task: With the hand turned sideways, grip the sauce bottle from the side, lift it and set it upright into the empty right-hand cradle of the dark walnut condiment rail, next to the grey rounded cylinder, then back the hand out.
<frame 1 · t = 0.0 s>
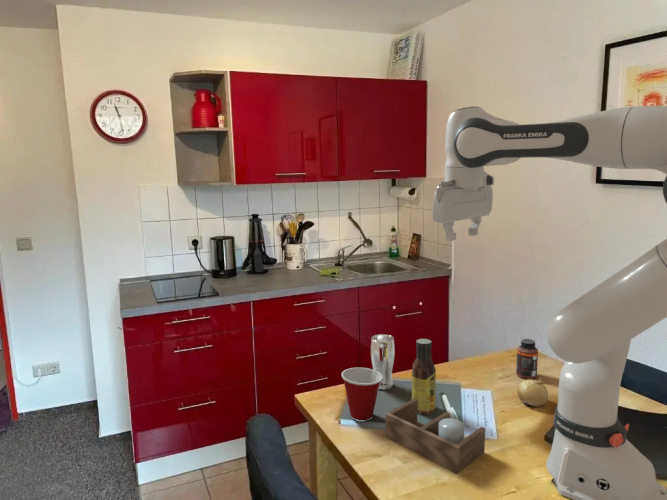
hand: (462, 237, 119), 48 cm above the table, tool pointing down, fingers open, 8 cm apart
plastic cup: (362, 416, 132), on the table
sauce bottle: (423, 412, 134), on the table
supplement bottle: (526, 376, 154), on the table
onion: (531, 403, 137), on the table
grey rounded cylinder: (450, 452, 113), resting on walnut condiment rail
walnut condiment rail: (433, 448, 117), on the table
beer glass: (382, 386, 149), on the table
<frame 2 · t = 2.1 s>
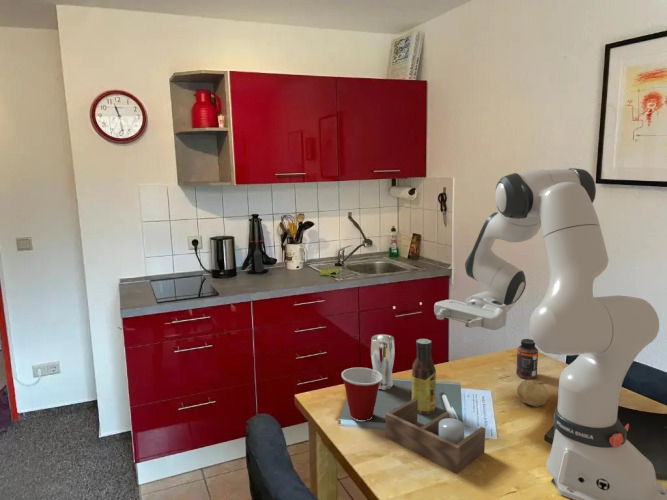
hand: (452, 320, 138), 22 cm above the table, tool horizontal, fingers open, 8 cm apart
nothing on the table moved.
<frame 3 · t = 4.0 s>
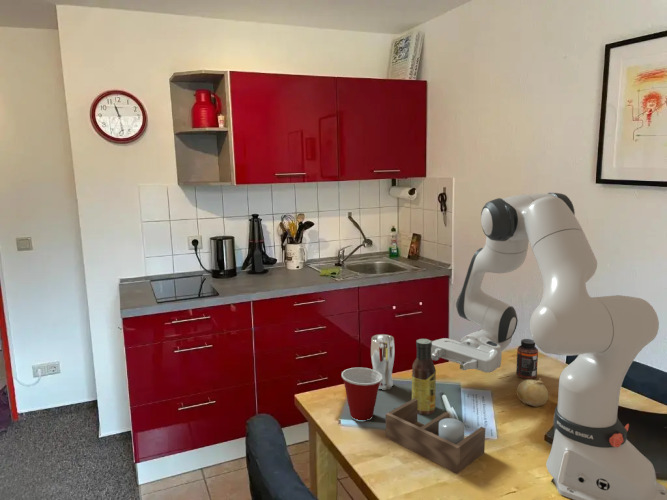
hand: (447, 362, 139), 11 cm above the table, tool horizontal, fingers open, 8 cm apart
nothing on the table moved.
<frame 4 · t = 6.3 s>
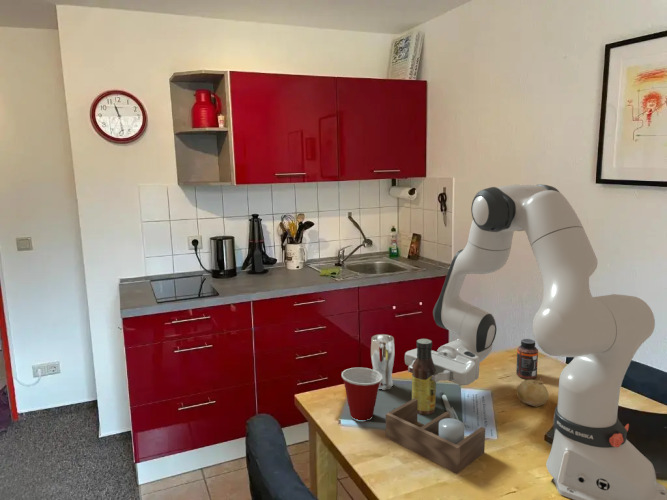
hand: (421, 374, 131), 11 cm above the table, tool horizontal, fingers closed on sauce bottle, 6 cm apart
sauce bottle: (423, 412, 134), on the table, touching gripper
everything else where it was.
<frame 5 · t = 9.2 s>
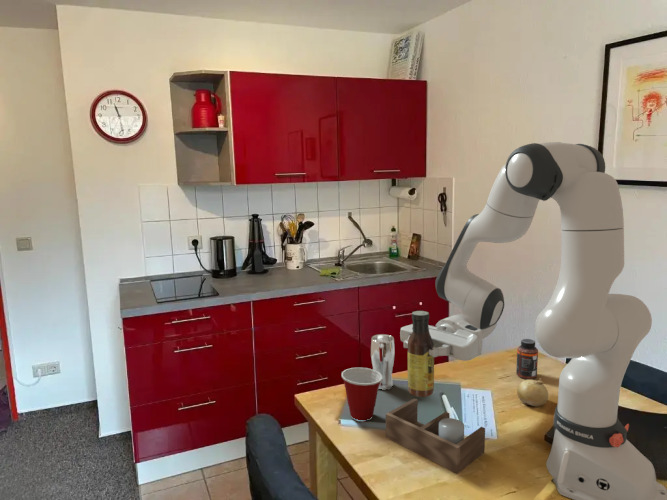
hand: (418, 349, 118), 22 cm above the table, tool horizontal, fingers closed on sauce bottle, 6 cm apart
sauce bottle: (420, 393, 121), point 11 cm above the table, touching gripper
everything else where it was.
when the fingers open (13 cm above the table, at t = 12.2 s): sauce bottle drops 1 cm, resting on walnut condiment rail.
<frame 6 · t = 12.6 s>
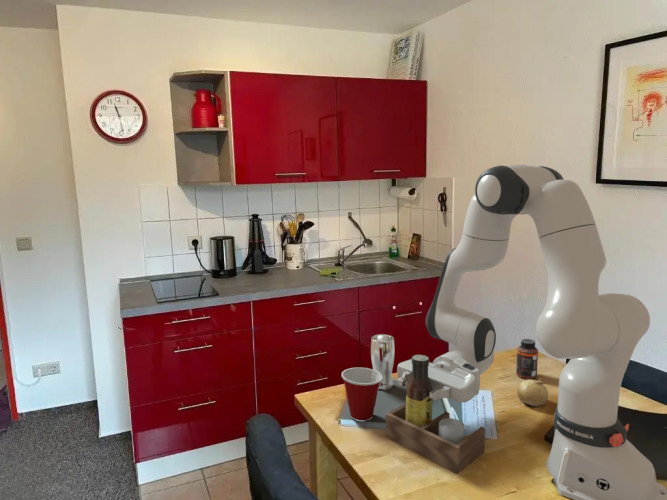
hand: (415, 389, 117), 13 cm above the table, tool horizontal, fingers open, 8 cm apart
sauce bottle: (417, 436, 120), point 1 cm above the table, touching walnut condiment rail
everything else where it was.
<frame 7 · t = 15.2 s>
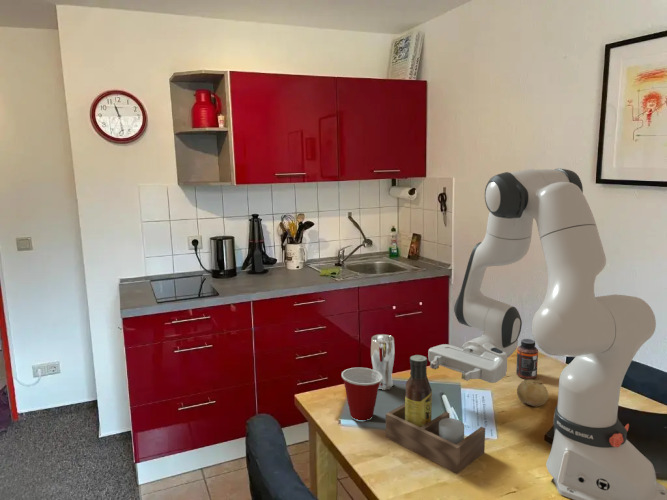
hand: (447, 371, 126), 14 cm above the table, tool horizontal, fingers open, 8 cm apart
nothing on the table moved.
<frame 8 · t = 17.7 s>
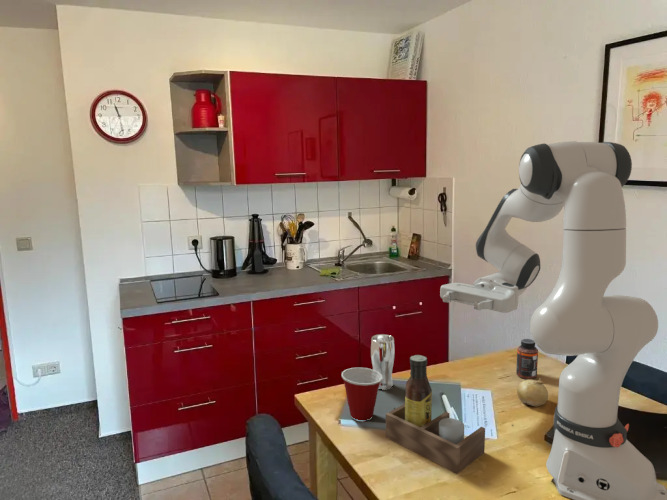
hand: (460, 302, 129), 30 cm above the table, tool horizontal, fingers open, 8 cm apart
nothing on the table moved.
at the end: sauce bottle inside the target area on the walnut condiment rail (0.2 cm from its centre), point 0.9 cm above the walnut condiment rail's base; sauce bottle tilted 0°; the gripper is holding nothing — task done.
